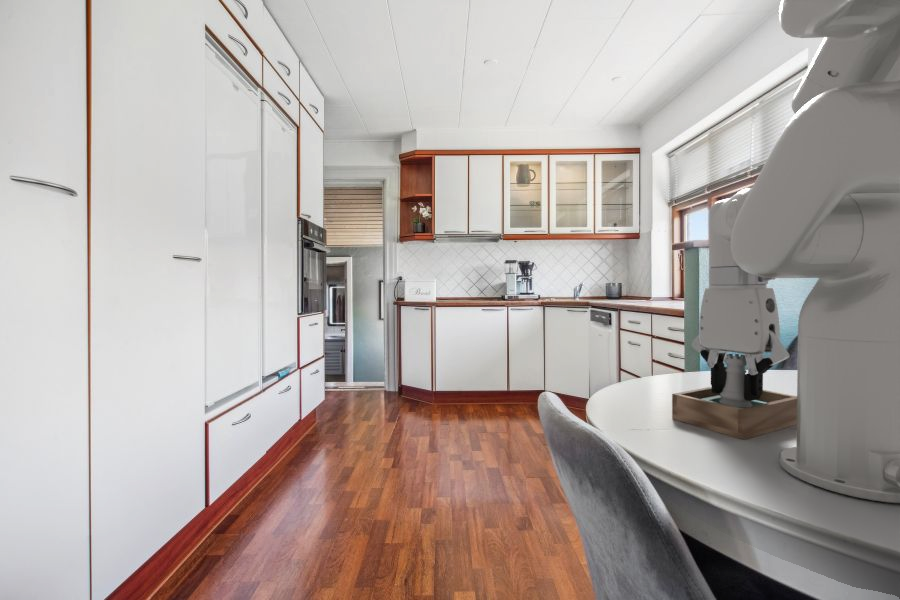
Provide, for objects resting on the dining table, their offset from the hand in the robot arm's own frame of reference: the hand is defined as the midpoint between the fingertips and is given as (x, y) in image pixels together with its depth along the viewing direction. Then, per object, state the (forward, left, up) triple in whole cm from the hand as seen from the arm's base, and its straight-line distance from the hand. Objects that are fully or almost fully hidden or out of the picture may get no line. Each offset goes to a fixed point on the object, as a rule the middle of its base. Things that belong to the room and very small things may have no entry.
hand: (735, 394), depth 69 cm
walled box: (0, 0, -4) cm, 4 cm away
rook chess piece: (0, 0, -2) cm, 2 cm away
